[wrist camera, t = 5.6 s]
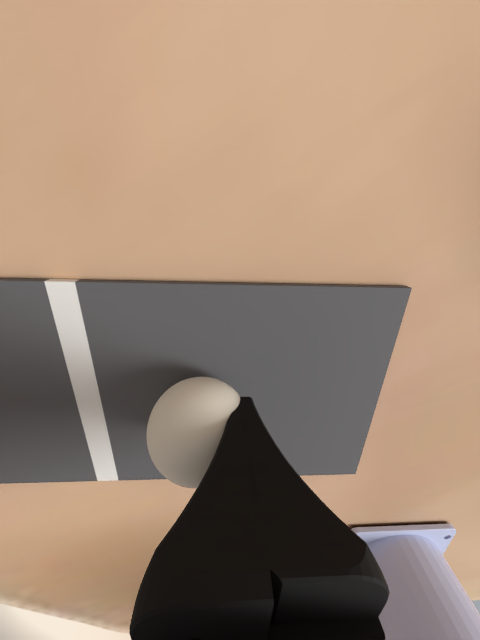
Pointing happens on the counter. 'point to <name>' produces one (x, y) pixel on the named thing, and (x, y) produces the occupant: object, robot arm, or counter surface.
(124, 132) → the counter surface
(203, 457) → the ball
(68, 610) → the counter surface
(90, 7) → the counter surface
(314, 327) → the lane
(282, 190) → the counter surface
